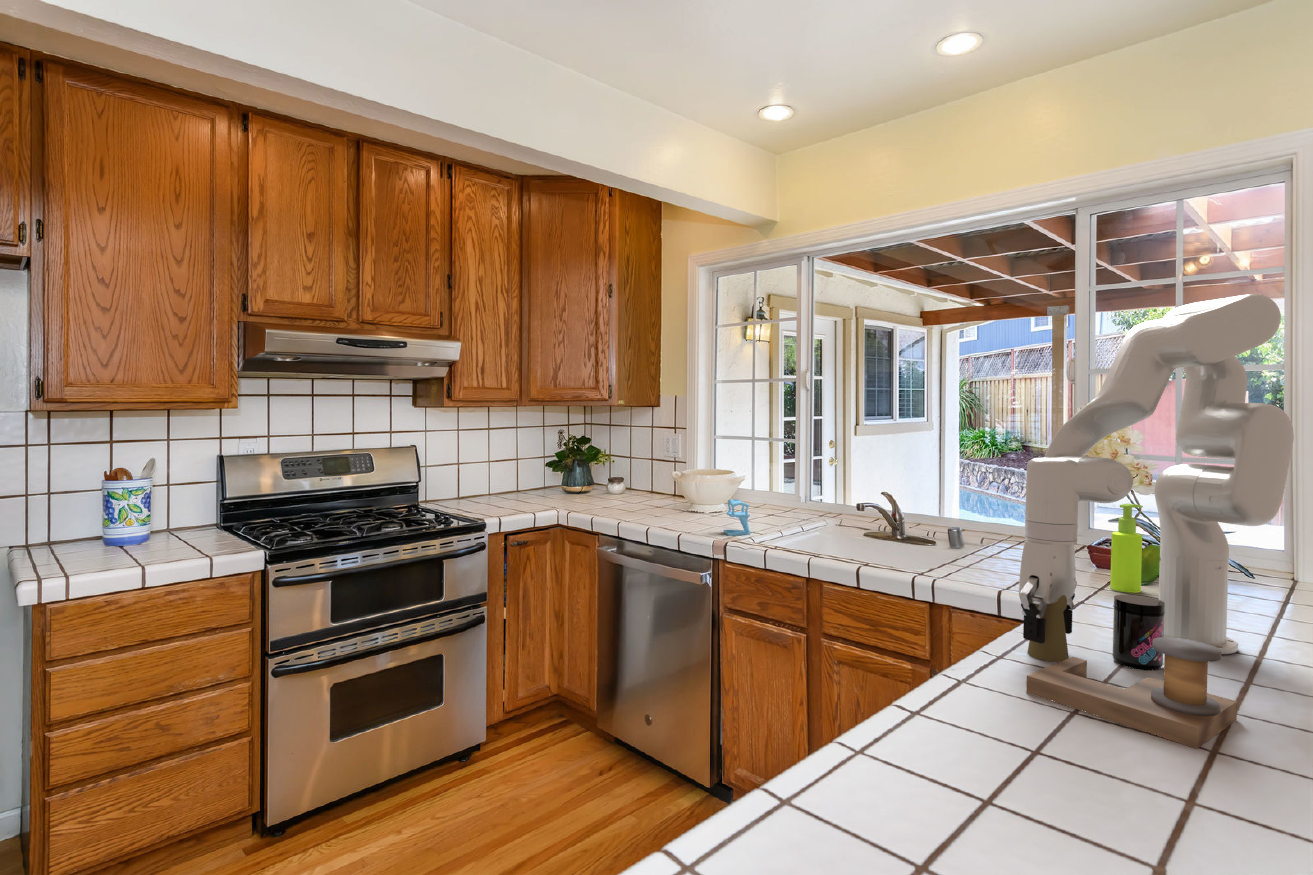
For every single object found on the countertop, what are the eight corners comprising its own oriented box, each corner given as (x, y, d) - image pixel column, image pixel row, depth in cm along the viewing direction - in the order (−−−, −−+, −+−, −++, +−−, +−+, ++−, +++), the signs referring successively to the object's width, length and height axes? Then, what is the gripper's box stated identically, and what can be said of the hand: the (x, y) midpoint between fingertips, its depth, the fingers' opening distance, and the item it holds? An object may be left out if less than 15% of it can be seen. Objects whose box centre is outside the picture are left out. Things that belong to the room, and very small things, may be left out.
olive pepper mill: (1031, 646, 117) (1032, 583, 117) (1071, 654, 113) (1073, 589, 113) (1023, 656, 113) (1025, 590, 112) (1065, 664, 109) (1067, 596, 108)
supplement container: (1120, 669, 107) (1122, 603, 107) (1105, 655, 113) (1107, 593, 113) (1170, 674, 105) (1172, 607, 105) (1152, 659, 112) (1154, 596, 111)
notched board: (1072, 672, 105) (1074, 608, 105) (1236, 720, 89) (1238, 643, 88) (1026, 692, 97) (1027, 622, 97) (1197, 748, 81) (1199, 664, 81)
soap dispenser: (1149, 591, 157) (1152, 505, 157) (1129, 593, 155) (1132, 506, 154) (1124, 585, 163) (1126, 502, 162) (1104, 587, 160) (1106, 503, 160)
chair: (752, 535, 228) (753, 500, 228) (728, 536, 227) (729, 500, 227) (746, 532, 236) (747, 497, 236) (723, 532, 235) (723, 497, 235)
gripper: (1052, 525, 120) (1049, 622, 121) (1000, 533, 111) (997, 639, 111) (1099, 531, 114) (1096, 633, 115) (1048, 540, 104) (1045, 652, 105)
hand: (1047, 635), depth 113 cm, fingers open, 8 cm apart
